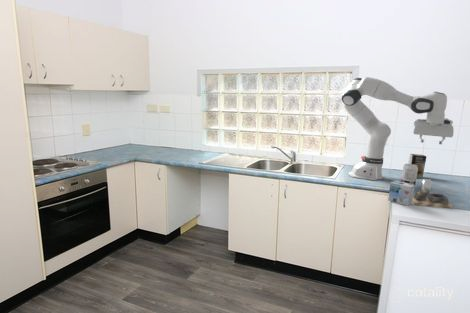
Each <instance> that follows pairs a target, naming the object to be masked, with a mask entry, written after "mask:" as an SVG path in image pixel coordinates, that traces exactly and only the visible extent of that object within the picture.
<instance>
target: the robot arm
mask: <svg viewBox="0 0 470 313" xmlns="http://www.w3.org/2000/svg"><path fill="white" fill-rule="evenodd" d="M362 96H369V97H371V98H373V99H377V100H380V101H392V102H396V103H399V104H401V105H404V106H406V107H408V108H409V109H410V110H411V111H412V112H413V113H415V114H419V115H422V114H426V118H425V119H424V118H423V119H420V118H418V119H415V120H414V122H413V126H414V128H413V135H416V136H417V135H419V139H420V143H421V144H422V143H424V141H425V139H424V138H422V137H423V136H429V137H430V136H431V137H441V138H442V139H441V140H439V142H438V145H443V142H444V141H445V140H446V138H453V137H454V126H453V122H454V121H453V120H452V119H448V118H446V117H445V116H446V115H445V114H446V113H445V111H446V108H447V106H448V105H447V103H448V96H447V94H445V93H443V92H438V91H432V92H431V93H428V94H426V95H422V96H412V95H409V94H406V93H404V92H402V91H399V90H398V89H396V88H395V87H394V86H393V85H392V84H389V83H388V82H386V81H384V80H381V79H378V78H374V77H368V76H365V77H363V78H361V77H356V78H353V79H352V80H351V81H350V82H349V83H348V84H347V86H346V88H345V89H344V91H343V93H342V95H341V102H342V103H343V107H344V108H345V110H346V111H347V113H348V114H349V115H350V116H351V117H352V118H353V119H354V120H355V121H356V122H357V123H358V124H359V125H360V126H361V127H362V128H363V129H364V130H365V131H366V133H368V135H369V136H370V138H369V140H368V143H367V145H366V152H365V155H361V156H360V158H361V161H360V162H358V163H356V164H354V165H353V166H352V170H350V171H348V175H349V176H350V177H352V178H356V179H363V180H369V181H370V180H372V181H377V180H382V179H383V164H384V153H385V147H386V144H387V141H388V138H389V137H390V135H391V133H392V130H391V127H390V126H389V125H388V123H385V122H382V121H380V119H379V118H377V116H376V115H375V114H374V112H373V111H372V110H371V109H370V108H369V107H368V106H367V105H366V104H365V103H364V102H363V101H362V100H361V99H362Z"/></svg>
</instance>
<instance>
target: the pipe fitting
mask: <svg viewBox="0 0 470 313" xmlns="http://www.w3.org/2000/svg"><path fill="white" fill-rule="evenodd" d="M431 185H432V180H431V179H429V178H422V182H421V187H420V191H422V192H423V193H424V194H425V195H426V196H427V195H428V193H431V192H430V191H431V188H432V187H431Z"/></svg>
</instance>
